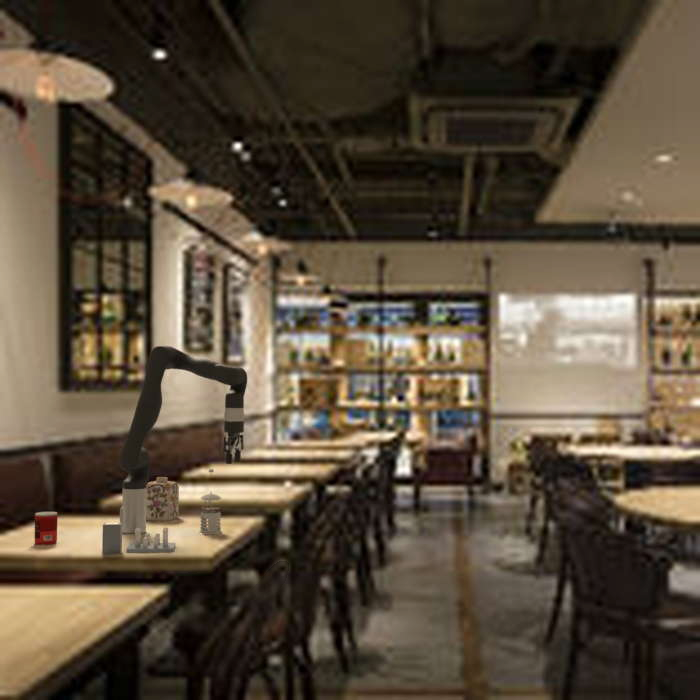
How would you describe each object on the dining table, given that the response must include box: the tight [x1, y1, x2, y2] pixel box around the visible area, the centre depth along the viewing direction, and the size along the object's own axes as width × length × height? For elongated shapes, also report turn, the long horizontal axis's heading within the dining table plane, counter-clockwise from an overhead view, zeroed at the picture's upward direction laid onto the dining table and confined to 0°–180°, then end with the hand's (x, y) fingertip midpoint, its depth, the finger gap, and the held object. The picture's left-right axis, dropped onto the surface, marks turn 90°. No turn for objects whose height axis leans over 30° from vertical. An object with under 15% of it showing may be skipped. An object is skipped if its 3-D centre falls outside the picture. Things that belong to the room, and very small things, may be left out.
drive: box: [101, 522, 123, 555], centre depth 330 cm, size 6×5×10 cm
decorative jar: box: [146, 476, 180, 522], centre depth 412 cm, size 12×12×18 cm
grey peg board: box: [126, 526, 176, 553], centre depth 338 cm, size 16×12×7 cm
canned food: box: [34, 511, 58, 546], centre depth 348 cm, size 8×8×11 cm
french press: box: [198, 468, 224, 535], centre depth 376 cm, size 10×12×25 cm
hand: (233, 462), depth 361 cm, fingers open, 8 cm apart
